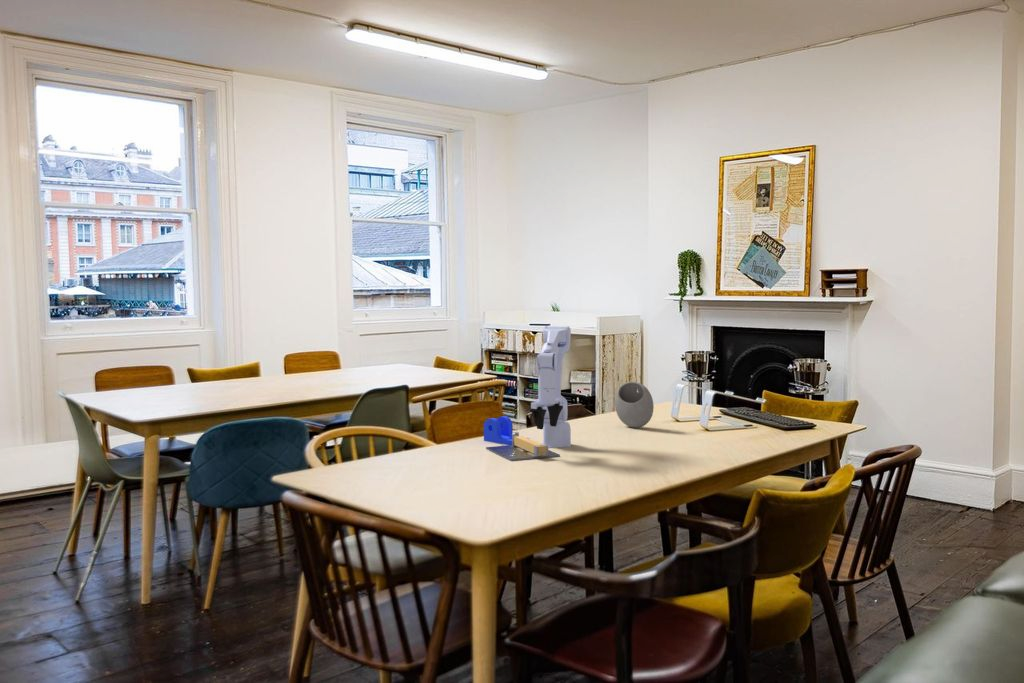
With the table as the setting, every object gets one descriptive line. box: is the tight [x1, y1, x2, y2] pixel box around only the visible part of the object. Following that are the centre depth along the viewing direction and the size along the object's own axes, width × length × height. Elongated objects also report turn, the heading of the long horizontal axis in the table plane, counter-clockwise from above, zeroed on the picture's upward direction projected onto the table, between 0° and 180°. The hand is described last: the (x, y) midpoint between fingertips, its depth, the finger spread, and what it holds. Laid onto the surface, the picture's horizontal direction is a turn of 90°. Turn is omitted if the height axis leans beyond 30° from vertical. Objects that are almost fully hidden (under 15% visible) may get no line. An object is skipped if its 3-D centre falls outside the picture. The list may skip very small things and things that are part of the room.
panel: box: [485, 431, 561, 462], centre depth 284 cm, size 18×22×6 cm
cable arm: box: [514, 435, 549, 456], centre depth 283 cm, size 20×4×3 cm, turn 24°
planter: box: [614, 381, 654, 429], centre depth 335 cm, size 18×7×19 cm, turn 46°
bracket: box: [483, 415, 530, 446], centre depth 304 cm, size 18×8×9 cm, turn 47°
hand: (546, 427), depth 282 cm, fingers open, 7 cm apart
